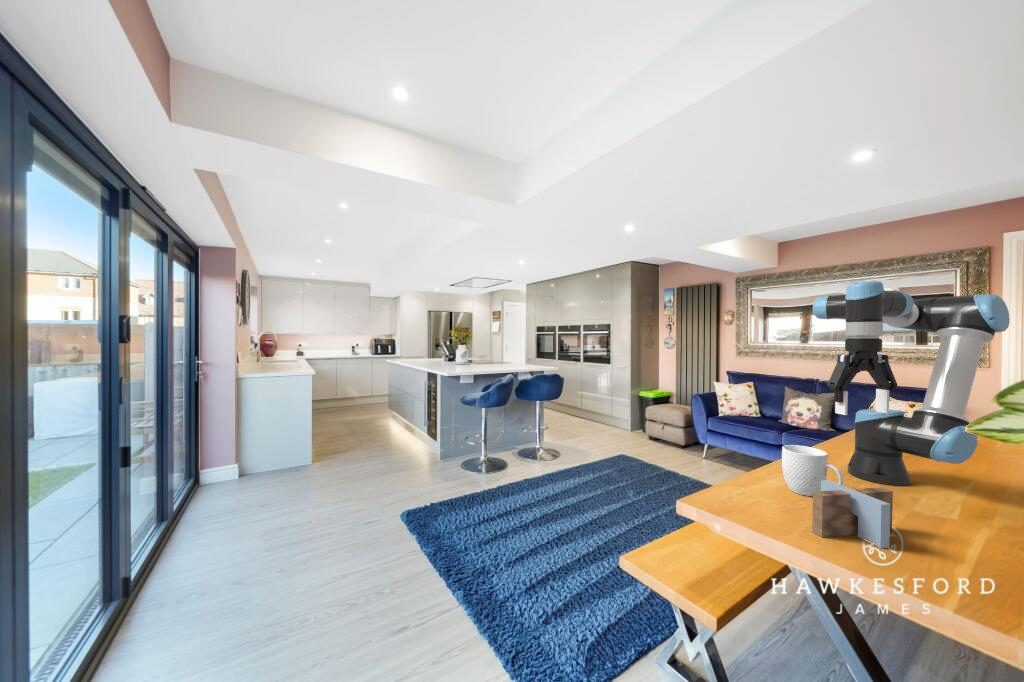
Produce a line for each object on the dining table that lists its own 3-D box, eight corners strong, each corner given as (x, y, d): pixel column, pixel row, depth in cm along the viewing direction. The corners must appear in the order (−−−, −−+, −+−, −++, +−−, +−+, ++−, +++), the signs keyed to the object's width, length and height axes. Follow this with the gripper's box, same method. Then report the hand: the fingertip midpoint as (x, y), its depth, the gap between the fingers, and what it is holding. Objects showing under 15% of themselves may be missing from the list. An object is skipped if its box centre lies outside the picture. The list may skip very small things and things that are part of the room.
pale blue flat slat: (820, 518, 98) (821, 480, 97) (828, 517, 98) (828, 480, 98) (880, 548, 84) (881, 504, 84) (889, 547, 84) (890, 504, 84)
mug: (849, 499, 109) (850, 455, 109) (836, 508, 103) (837, 462, 103) (789, 482, 122) (790, 442, 121) (775, 489, 116) (775, 448, 115)
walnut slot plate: (880, 526, 94) (881, 487, 93) (891, 531, 91) (892, 491, 91) (812, 532, 91) (813, 491, 90) (821, 537, 88) (822, 496, 88)
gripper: (885, 337, 109) (883, 409, 109) (811, 337, 105) (810, 411, 105) (916, 337, 101) (915, 414, 102) (838, 337, 98) (837, 417, 98)
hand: (861, 413), depth 103 cm, fingers open, 13 cm apart
